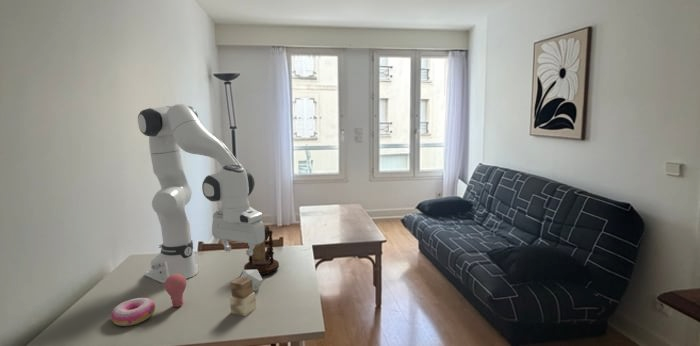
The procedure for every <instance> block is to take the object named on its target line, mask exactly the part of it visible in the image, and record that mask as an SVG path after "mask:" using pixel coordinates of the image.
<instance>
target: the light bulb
mask: <svg viewBox="0 0 700 346" xmlns="http://www.w3.org/2000/svg"><path fill="white" fill-rule="evenodd" d="M186 287H187V279H185V277H184V276H182V275H180V274H173V275H171V276H169V277H168V278H167V279H166V281H165V283H164V288H165V291H166V293H168V294H167V295H169V296H170V300H171V304H172V306H173V307H175V308H177V307H180V306H182V305H183V304H184V298H183V297H184V292H185V290H186Z"/></svg>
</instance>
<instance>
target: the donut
mask: <svg viewBox="0 0 700 346" xmlns="http://www.w3.org/2000/svg"><path fill="white" fill-rule="evenodd" d="M155 311H156V304H155V302H154V301H153V300H152V299H150V298H148V297H137V298H132V299H128V300H125V301H122V302H121V303H119V304H118V305H116V306H115V307H114V308H113V309H112V312H110V313H111V314H110V318H111V321H112V322H113V323H114V324H115V325H116V326H120V327H130V326H135V325H139V324H141V323H142V322H145V321H146V320H148V319H149V318H151V316H153V314H154V313H155Z"/></svg>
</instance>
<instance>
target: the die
mask: <svg viewBox="0 0 700 346" xmlns="http://www.w3.org/2000/svg"><path fill="white" fill-rule="evenodd" d="M240 277H245V278H249V279H252V284H253V292H258V290H259V288H260V286H261V284H262V282H263V278H262V275H261V274H259V272H258V270H244V269H243V271H242V273H241V276H240Z"/></svg>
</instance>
